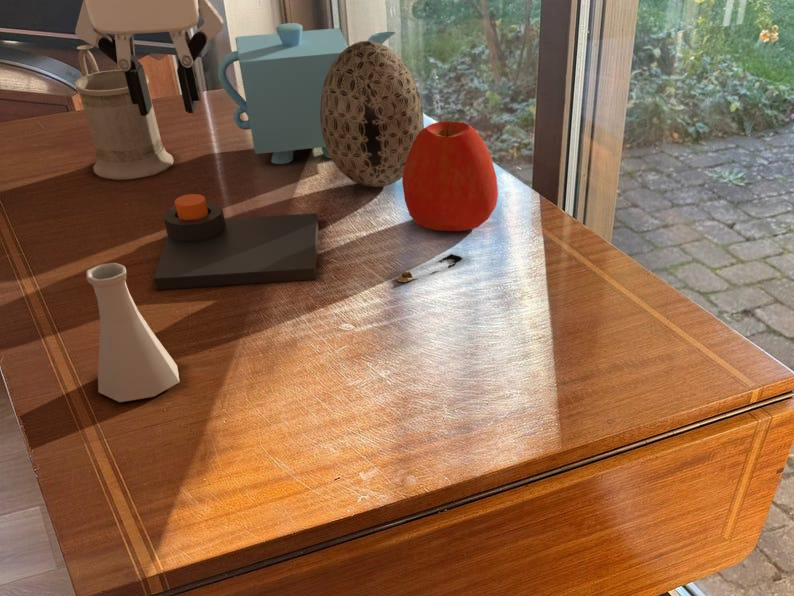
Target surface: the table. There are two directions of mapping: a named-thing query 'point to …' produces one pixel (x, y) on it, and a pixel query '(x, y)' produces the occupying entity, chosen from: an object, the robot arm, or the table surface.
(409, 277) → the fossil
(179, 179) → the table surface
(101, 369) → the flask
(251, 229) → the scale
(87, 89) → the mug
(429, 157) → the apple
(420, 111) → the decorative egg
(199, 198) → the button
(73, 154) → the table surface
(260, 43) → the teapot
